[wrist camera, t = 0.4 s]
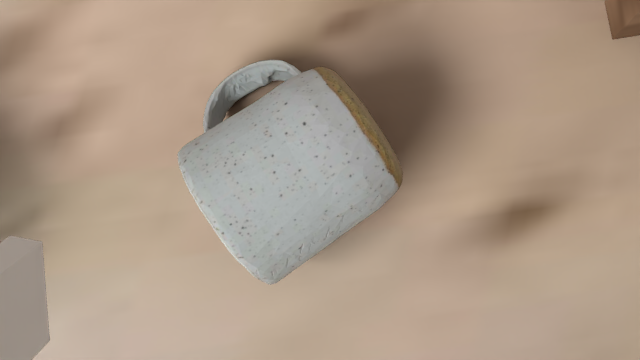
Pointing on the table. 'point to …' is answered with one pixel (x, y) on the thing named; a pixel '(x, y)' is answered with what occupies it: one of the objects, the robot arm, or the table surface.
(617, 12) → the walnut stand
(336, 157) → the ceramic mug
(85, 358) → the table surface
